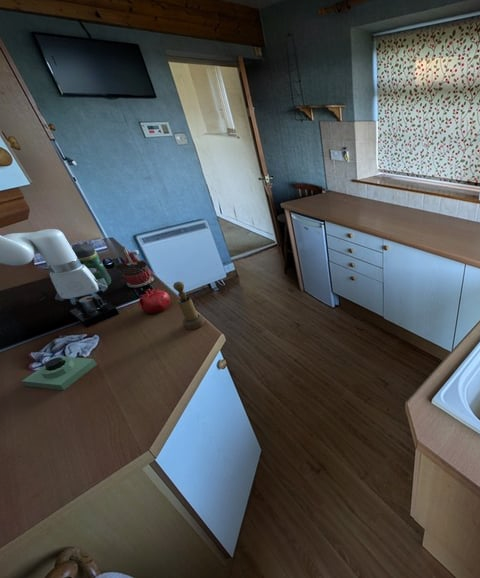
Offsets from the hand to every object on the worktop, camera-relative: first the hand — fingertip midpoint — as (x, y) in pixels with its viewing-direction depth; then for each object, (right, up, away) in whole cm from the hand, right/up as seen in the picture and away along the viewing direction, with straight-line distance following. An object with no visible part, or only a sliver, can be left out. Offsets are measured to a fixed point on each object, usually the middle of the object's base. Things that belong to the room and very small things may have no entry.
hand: (92, 308), depth 110 cm
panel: (0, -3, +2) cm, 3 cm away
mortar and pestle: (+40, -6, -2) cm, 40 cm away
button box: (+14, -18, -23) cm, 33 cm away
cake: (0, +10, +23) cm, 24 cm away
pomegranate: (+20, -1, +6) cm, 21 cm away
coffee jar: (-17, +9, +21) cm, 29 cm away
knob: (0, 0, 0) cm, 0 cm away
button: (+14, -15, -25) cm, 32 cm away
